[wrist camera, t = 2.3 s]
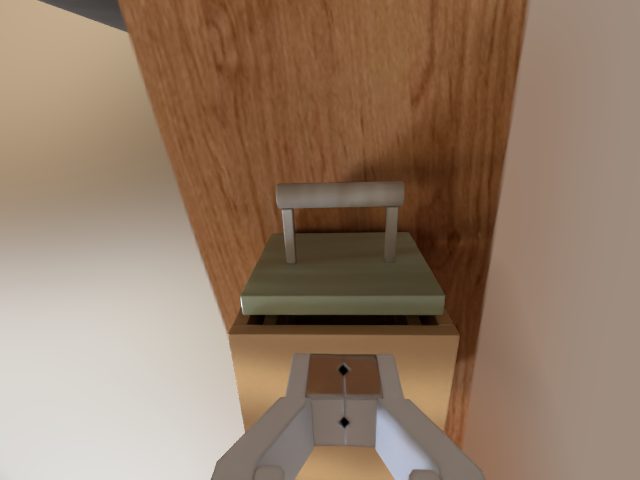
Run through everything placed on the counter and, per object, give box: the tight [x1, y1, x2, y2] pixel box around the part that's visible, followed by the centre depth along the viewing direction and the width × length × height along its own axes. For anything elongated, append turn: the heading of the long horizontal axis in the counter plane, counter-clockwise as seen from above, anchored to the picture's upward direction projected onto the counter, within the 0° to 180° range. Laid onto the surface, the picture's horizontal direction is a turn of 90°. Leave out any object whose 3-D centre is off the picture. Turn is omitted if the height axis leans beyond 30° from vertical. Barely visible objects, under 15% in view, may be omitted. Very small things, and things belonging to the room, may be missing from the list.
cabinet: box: [228, 306, 460, 480], centre depth 24 cm, size 15×12×11 cm
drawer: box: [240, 181, 445, 325], centre depth 22 cm, size 18×10×9 cm, turn 2°
